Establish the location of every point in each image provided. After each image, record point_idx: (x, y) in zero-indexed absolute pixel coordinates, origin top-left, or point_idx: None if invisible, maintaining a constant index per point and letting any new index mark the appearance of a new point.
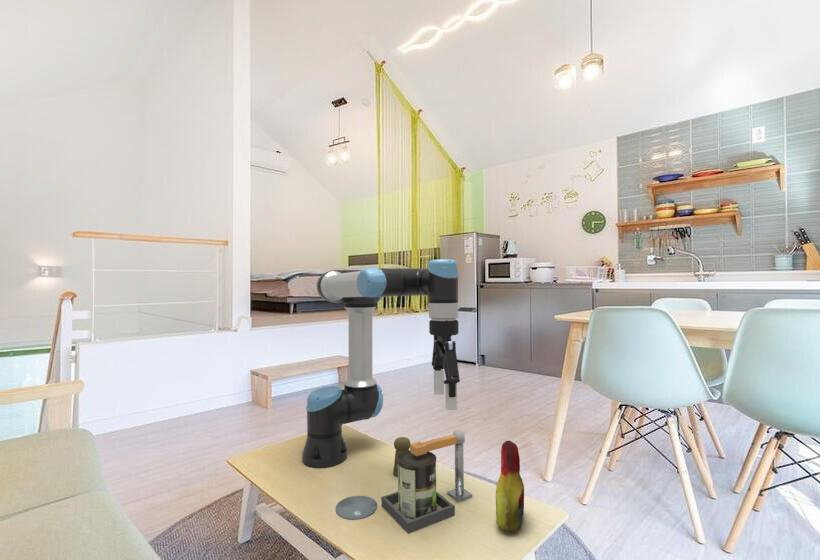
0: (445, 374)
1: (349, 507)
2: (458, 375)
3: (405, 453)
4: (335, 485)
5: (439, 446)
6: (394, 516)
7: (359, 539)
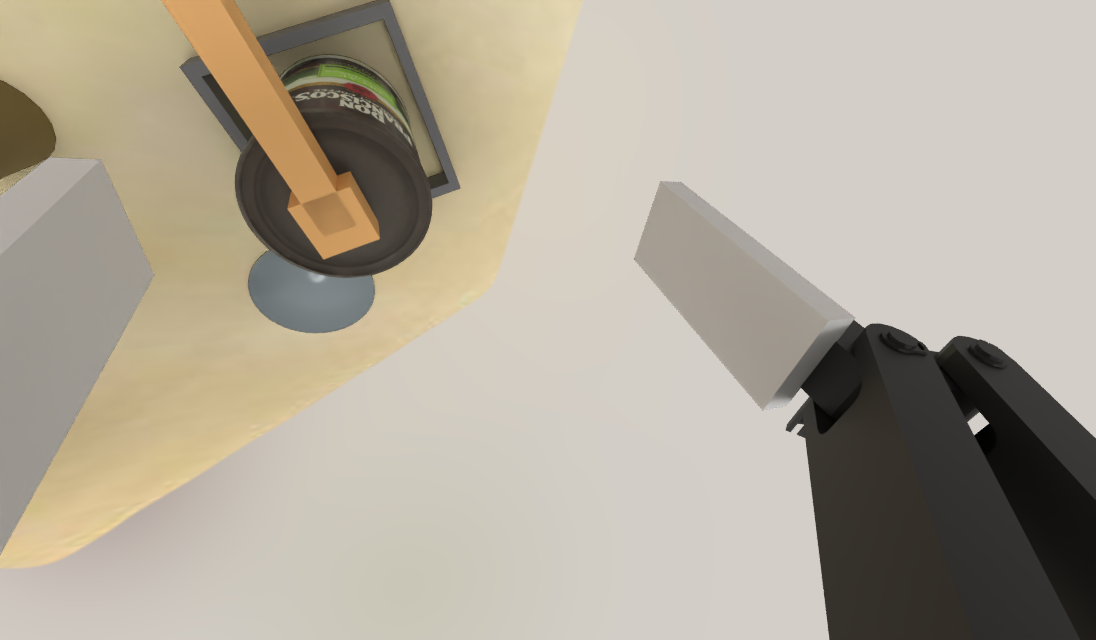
0: (819, 483)
1: (320, 305)
2: (1044, 399)
3: (282, 242)
4: (175, 346)
5: (282, 87)
6: None
7: (452, 278)
